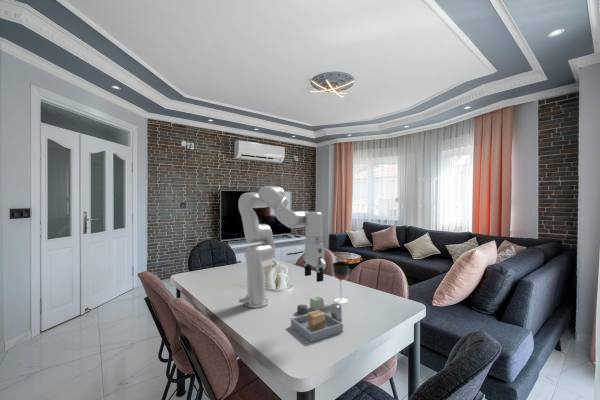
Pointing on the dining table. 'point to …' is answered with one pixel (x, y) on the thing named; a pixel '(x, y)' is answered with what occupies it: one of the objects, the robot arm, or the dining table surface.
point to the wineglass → (340, 277)
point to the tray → (330, 329)
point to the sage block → (316, 303)
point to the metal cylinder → (336, 312)
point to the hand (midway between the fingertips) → (313, 278)
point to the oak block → (316, 320)
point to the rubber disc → (302, 309)
